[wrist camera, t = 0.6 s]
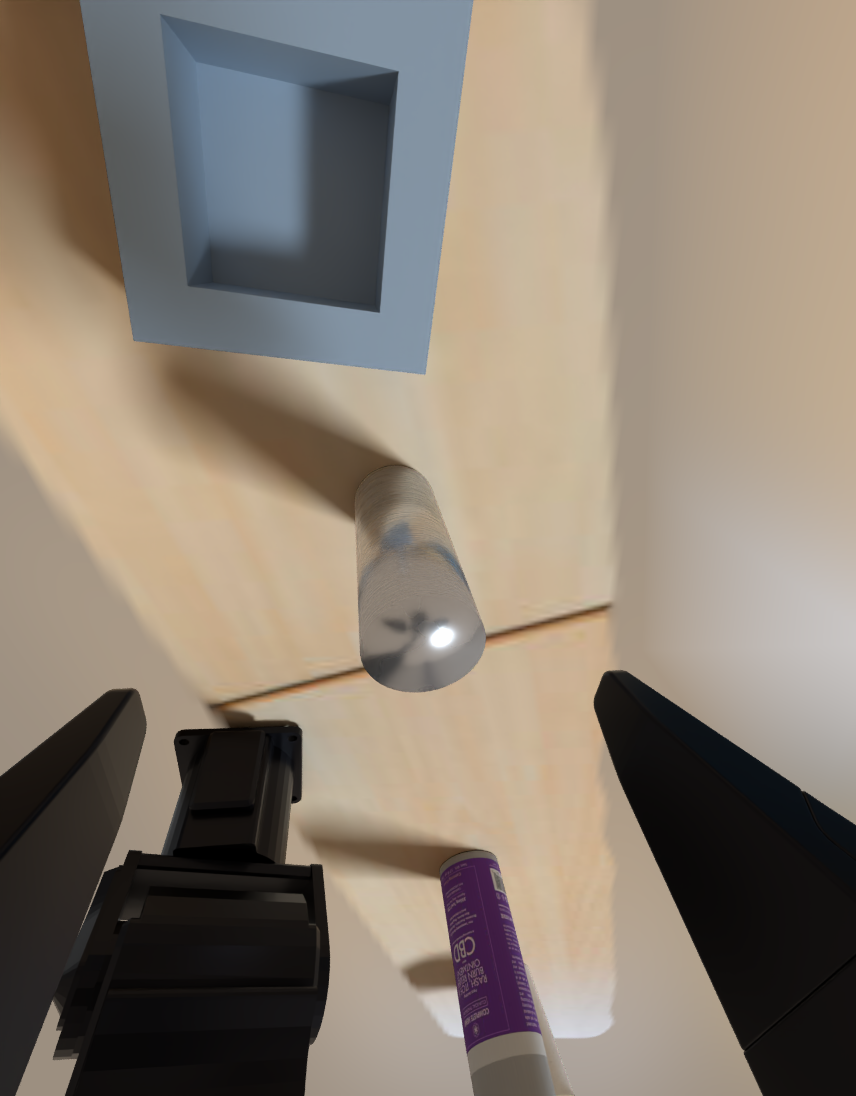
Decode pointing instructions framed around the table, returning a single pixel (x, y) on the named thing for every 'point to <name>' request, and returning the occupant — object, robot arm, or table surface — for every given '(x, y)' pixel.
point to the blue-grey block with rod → (281, 170)
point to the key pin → (411, 587)
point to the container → (492, 982)
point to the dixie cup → (550, 1045)
